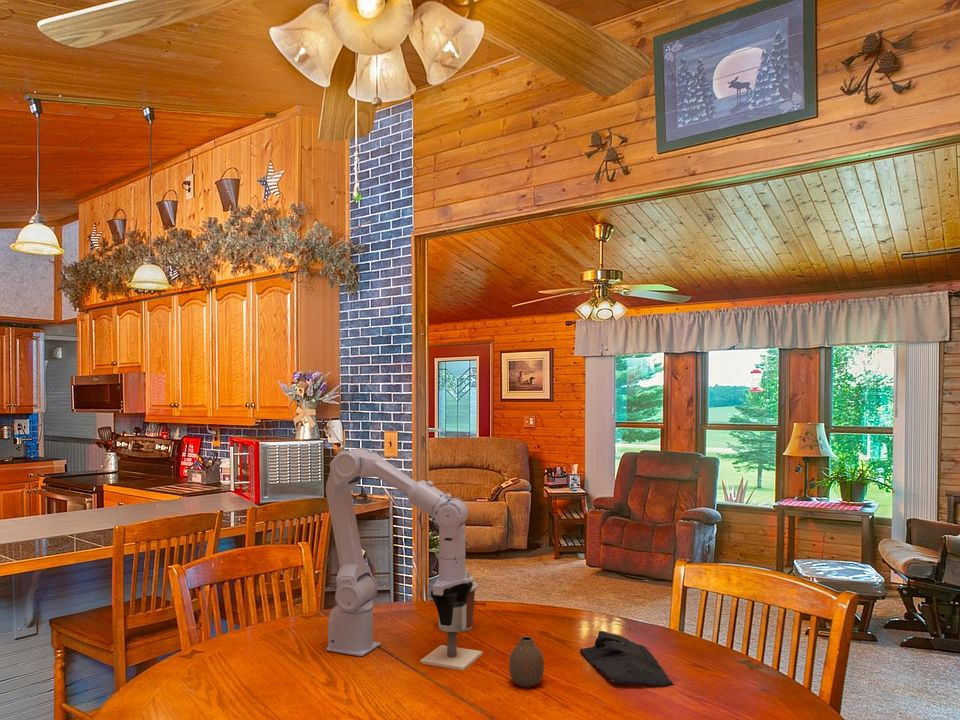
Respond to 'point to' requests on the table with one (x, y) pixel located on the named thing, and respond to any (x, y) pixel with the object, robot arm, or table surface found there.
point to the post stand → (451, 655)
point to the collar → (456, 618)
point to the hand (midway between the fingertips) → (452, 620)
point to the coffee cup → (470, 606)
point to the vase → (526, 663)
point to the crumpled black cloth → (625, 661)
